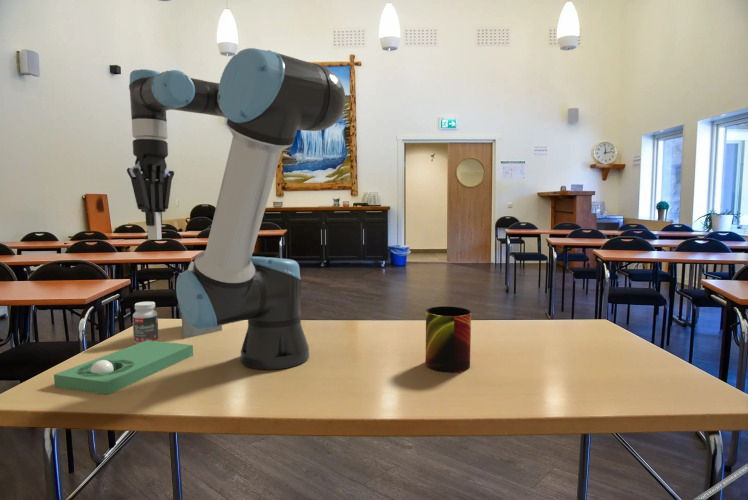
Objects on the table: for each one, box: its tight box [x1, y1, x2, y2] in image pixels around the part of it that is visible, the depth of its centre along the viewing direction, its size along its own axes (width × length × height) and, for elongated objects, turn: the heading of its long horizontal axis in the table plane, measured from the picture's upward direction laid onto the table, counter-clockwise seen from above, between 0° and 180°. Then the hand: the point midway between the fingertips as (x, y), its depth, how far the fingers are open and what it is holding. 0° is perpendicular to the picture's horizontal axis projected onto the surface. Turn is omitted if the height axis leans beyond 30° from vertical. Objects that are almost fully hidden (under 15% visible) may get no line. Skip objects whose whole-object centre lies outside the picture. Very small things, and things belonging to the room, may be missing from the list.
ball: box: [91, 360, 114, 373], centre depth 95 cm, size 4×4×4 cm
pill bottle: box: [132, 301, 159, 344], centre depth 122 cm, size 6×6×10 cm
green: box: [53, 340, 194, 395], centre depth 102 cm, size 24×13×2 cm, turn 162°
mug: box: [424, 305, 472, 374], centre depth 106 cm, size 10×14×12 cm
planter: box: [181, 260, 223, 339], centre depth 132 cm, size 16×8×19 cm, turn 1°
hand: (154, 239), depth 116 cm, fingers closed
